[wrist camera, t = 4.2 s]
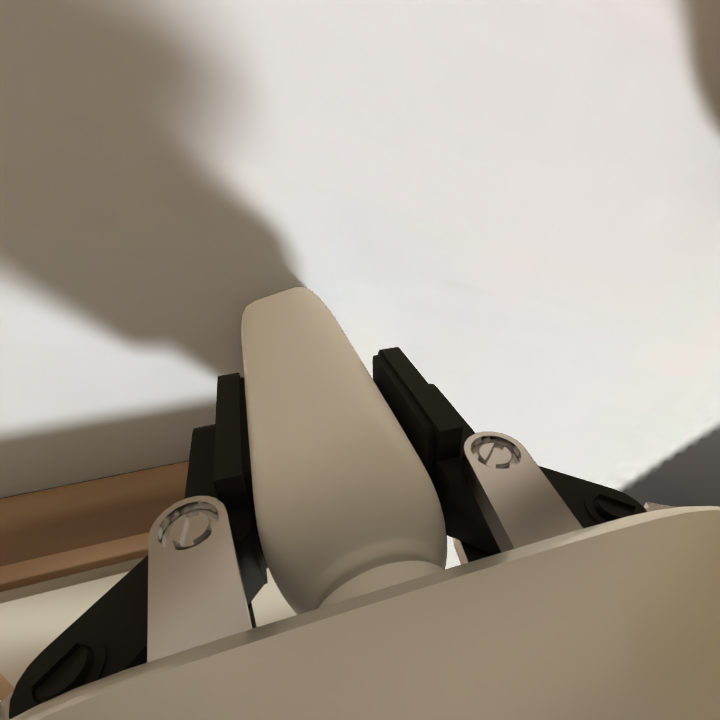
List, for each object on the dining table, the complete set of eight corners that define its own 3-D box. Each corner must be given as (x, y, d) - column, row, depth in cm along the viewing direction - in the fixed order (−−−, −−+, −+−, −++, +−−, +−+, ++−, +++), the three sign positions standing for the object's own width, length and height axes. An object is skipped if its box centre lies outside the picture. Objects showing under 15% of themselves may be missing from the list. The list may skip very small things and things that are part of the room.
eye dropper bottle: (225, 426, 14) (220, 1132, 4) (246, 272, 12) (351, 996, 2) (341, 430, 16) (546, 948, 6) (380, 295, 14) (833, 754, 3)
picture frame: (-40, 506, 13) (-115, 605, 10) (315, 435, 16) (333, 498, 13) (88, 686, 19) (61, 782, 16) (334, 611, 22) (350, 683, 19)
